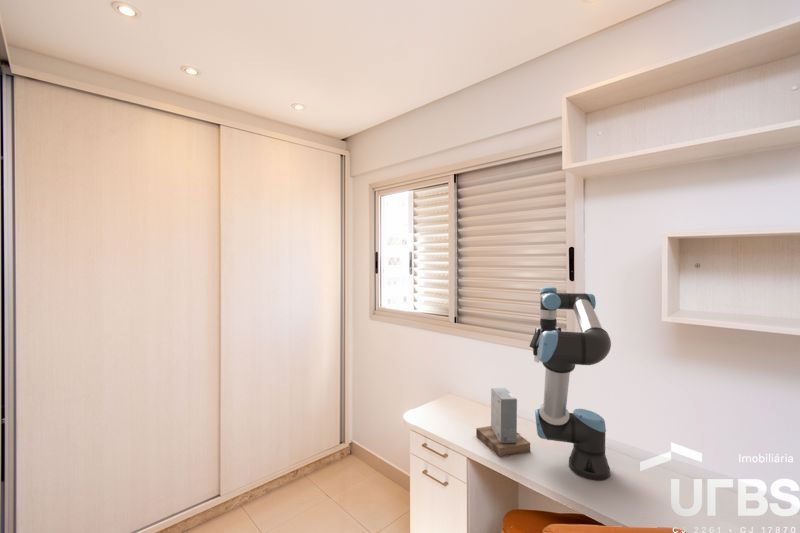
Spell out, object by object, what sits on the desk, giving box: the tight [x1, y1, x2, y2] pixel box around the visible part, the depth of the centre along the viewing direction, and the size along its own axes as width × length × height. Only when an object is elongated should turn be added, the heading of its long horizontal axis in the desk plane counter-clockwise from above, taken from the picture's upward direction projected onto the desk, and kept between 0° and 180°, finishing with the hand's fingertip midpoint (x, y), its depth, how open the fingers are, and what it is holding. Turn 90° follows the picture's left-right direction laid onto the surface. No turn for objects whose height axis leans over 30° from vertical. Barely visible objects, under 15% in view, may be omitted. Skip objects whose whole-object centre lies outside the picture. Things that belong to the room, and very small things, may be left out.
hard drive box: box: [490, 387, 518, 443], centre depth 167 cm, size 16×8×20 cm, turn 2°
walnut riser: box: [475, 425, 531, 458], centre depth 167 cm, size 20×16×4 cm
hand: (548, 360), depth 176 cm, fingers open, 13 cm apart
